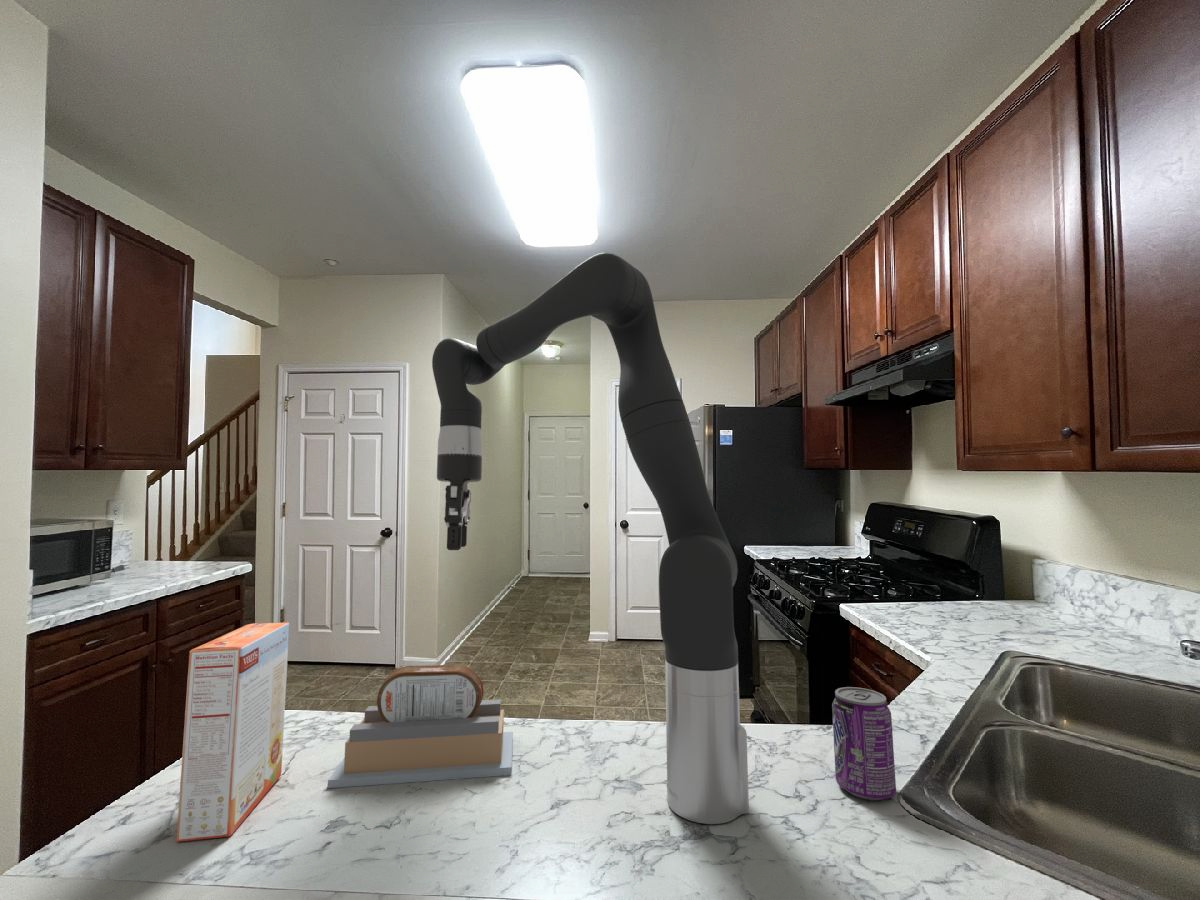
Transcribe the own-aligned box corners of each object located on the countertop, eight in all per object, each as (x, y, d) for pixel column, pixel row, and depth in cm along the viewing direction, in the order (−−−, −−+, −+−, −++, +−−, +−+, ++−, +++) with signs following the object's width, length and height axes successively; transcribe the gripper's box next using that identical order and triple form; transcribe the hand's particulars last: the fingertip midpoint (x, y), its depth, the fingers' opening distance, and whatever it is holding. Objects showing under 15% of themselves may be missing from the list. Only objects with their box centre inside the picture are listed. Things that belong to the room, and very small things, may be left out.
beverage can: (841, 771, 74) (837, 682, 75) (899, 787, 70) (893, 692, 71) (830, 793, 68) (825, 696, 69) (892, 811, 64) (886, 708, 65)
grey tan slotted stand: (512, 738, 85) (513, 695, 85) (511, 774, 73) (512, 724, 74) (355, 748, 81) (357, 703, 82) (327, 788, 69) (330, 735, 70)
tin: (482, 719, 80) (484, 661, 80) (480, 728, 76) (482, 667, 77) (379, 724, 78) (382, 665, 79) (372, 733, 75) (375, 671, 76)
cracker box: (234, 781, 71) (246, 622, 74) (282, 777, 72) (293, 620, 75) (169, 845, 58) (186, 647, 60) (230, 839, 59) (244, 645, 61)
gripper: (478, 449, 85) (476, 551, 83) (484, 458, 99) (482, 545, 97) (430, 448, 84) (426, 551, 82) (443, 457, 98) (440, 546, 96)
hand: (457, 548), depth 90 cm, fingers open, 8 cm apart
